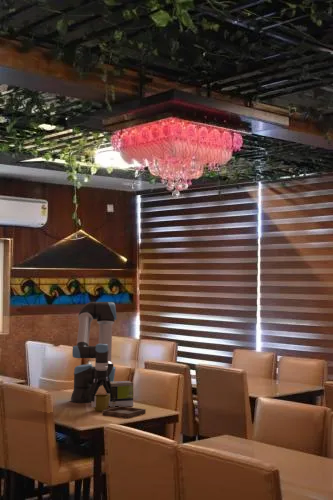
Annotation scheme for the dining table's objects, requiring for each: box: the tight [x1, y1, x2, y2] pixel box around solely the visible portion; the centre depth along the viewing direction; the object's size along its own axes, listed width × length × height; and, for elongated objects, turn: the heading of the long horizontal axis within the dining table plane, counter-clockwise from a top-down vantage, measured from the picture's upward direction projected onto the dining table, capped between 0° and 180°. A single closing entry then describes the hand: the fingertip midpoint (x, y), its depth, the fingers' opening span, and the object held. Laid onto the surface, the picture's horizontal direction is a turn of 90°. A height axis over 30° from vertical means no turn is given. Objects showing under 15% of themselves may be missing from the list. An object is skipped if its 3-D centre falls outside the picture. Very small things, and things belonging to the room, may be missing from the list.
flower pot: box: [93, 393, 110, 412], centre depth 401 cm, size 9×9×9 cm
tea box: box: [108, 380, 134, 408], centre depth 420 cm, size 15×10×15 cm, turn 108°
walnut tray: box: [102, 406, 147, 419], centre depth 391 cm, size 18×18×2 cm
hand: (100, 405), depth 401 cm, fingers open, 13 cm apart
